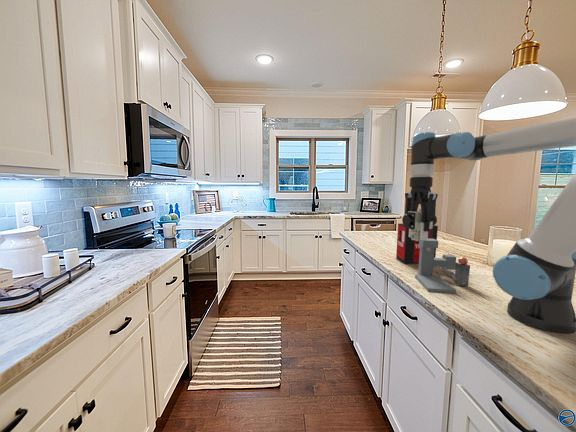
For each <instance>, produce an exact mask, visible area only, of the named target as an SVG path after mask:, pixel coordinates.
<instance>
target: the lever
mask: <svg viewBox="0 0 576 432" xmlns="http://www.w3.org/2000/svg"><path fill="white" fill-rule="evenodd" d="M468 263H469V260H468V259H467V258H466V257H464V256H461V257H458V262H456V267H455V270H454V272H453V271H452V270H451V269H445V268H443V267H440V269H441V270H442V271H443V272H445V273H446V274H447V275H448V276H450V277H451V278H453V279H454V281H453V282H454V284H456V285H457V286H462V287H463V286H464V287H469V281H470V280H469V279H470V272H471V271H470V268H471V265H469V264H468Z"/></svg>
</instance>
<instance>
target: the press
mask: <svg viewBox="0 0 576 432" xmlns="http://www.w3.org/2000/svg"><path fill="white" fill-rule="evenodd" d="M419 245H420V254H419V264H418V273H417V274H415V276H414V278H415V279H416V280H417V281H418V283H420V285H421V286H422V287H423V288H424V289H425V290H426V291H427V292H434V293H448V294H449V293H450V294H457V289H456V288H454V286H452V285H451V284H450V283H448V282H447V281H446V280H445V279H444V278H442V277H441V276H439V275H438V276H437V275H433V273H434V268H435V267H437V268H441V267H443V268H445V269H448V270H450V271H452V270H453V271H455V267H456V263H457V256H455V255H454V254H445V253H444V254H442V256H441V257H435V258H434V251H435V248H436V249H439V240H438V239H437V240H435V239H428V240H425V241H419Z"/></svg>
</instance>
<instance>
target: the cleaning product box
mask: <svg viewBox="0 0 576 432" xmlns="http://www.w3.org/2000/svg"><path fill="white" fill-rule="evenodd" d="M438 229H439V226H438V225H437V224H435V225H434V229H429V231H428V239H435V240H437V241H438ZM416 231H417V230H416ZM396 237H397V239H396V240H397V241H396V255H395V256H396V257H395V259H396V260H397V261H399V262H400V263H402V264H403V265H419V254H420V245H419V241H416V240H411V237H409V229H408V228H405V226H404V225H403V222H401V223H397V236H396ZM436 255H437V248H435V251H434V258H436Z"/></svg>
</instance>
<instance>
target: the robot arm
mask: <svg viewBox="0 0 576 432" xmlns="http://www.w3.org/2000/svg"><path fill="white" fill-rule="evenodd" d="M570 147H571V148H572V147H576V117H571V118H568V119H562V120H561V119H560V120H556V121H551V122H546V123H541V124H536V125H531V126H526V127H521V128H515V129H511V130H506V131H501V132H496V133H491V134H485V135H479V136H475V137H474V135H473V134H472V133H471V132H469V131H463V132H455V133H452V134H446V135H441V136H436V134H435V132H431V131H426V132H419V133H416V134H414V135H413V136H412V140H411V147H410V148H411V153H410V155H411V159H410V169H409V170H410V173H409V176H411V177H410V178H409V187H410V188H411V189H410V191H409V192H406V193H405V194H404V197H405V205H404V213H405V212H413V211H419V205H420V209H421V211H422V218H423V221H421V230H420V240H428V231H429V226H430V222H432V221H435V216H436V209H437V207H436V206H437V199H438V197H439V196H438V195H439V194H438V193H433V192H432V191H431V188H432V187H433V177H432V176H433V175H434V164H435V163H434V162H435V160H438V159H450V158H451V159H460V160H468V161H479V160H482V159H486V158H493V157H499V156H500V157H501V156H506V155H507V156H509V155H517V154H524V153H532V152H538V151H539V152H541V151H546V150H554V149H555V150H556V149H562V148H570ZM426 218H427V219H426ZM412 231H416V230H413V229H409V237H411V234H412V233H411V232H412ZM492 277H493V278H494V281H495V284H496V285H497V286H498V287H499V289H501V291H503V292H504V293H505V294H507V295H509V296H511V299H510V301H509V302H508V304H507V307H506V311H507V314H508V315H509V316H510V317H511V318H512V319H514V320H516V321H519V322H521V323H523V324H525V325H527V326H531V327H534V328H536V329H539V330H544V331H548V332H551V333H552V332H553V333H560V334H572V333H576V313H575V308H574V306H573V302H572V299H573V291H574V285H575V280H576V279H575V277H576V172H574V174H573V176H572V177H570V179H569V180H568V182H567V183H566V185H565V187H564V188H563V189H562V190H561V192H560V193H559V194H558V196H557V198H556V199H555V200H554V202H553V203H552V205H551V206H550V207H549V209H548V210H547V211H546V212H545V214H544V215H543V217H542V218H541V219H540V221H539V222H538V224H537V225H536V227H535V228H534V229H533V231H531V233H530V235H529V236H528V237H526V238H521V239H520V238H519V239H517V240H516V242H515V243H514V245H513V246H512V247H511V248H510V251H508V253H507V254H506V255H505V256H502V257H500V258H499V259H498V260H497V261H496V262H495V263H494V265H493V267H492Z"/></svg>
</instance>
